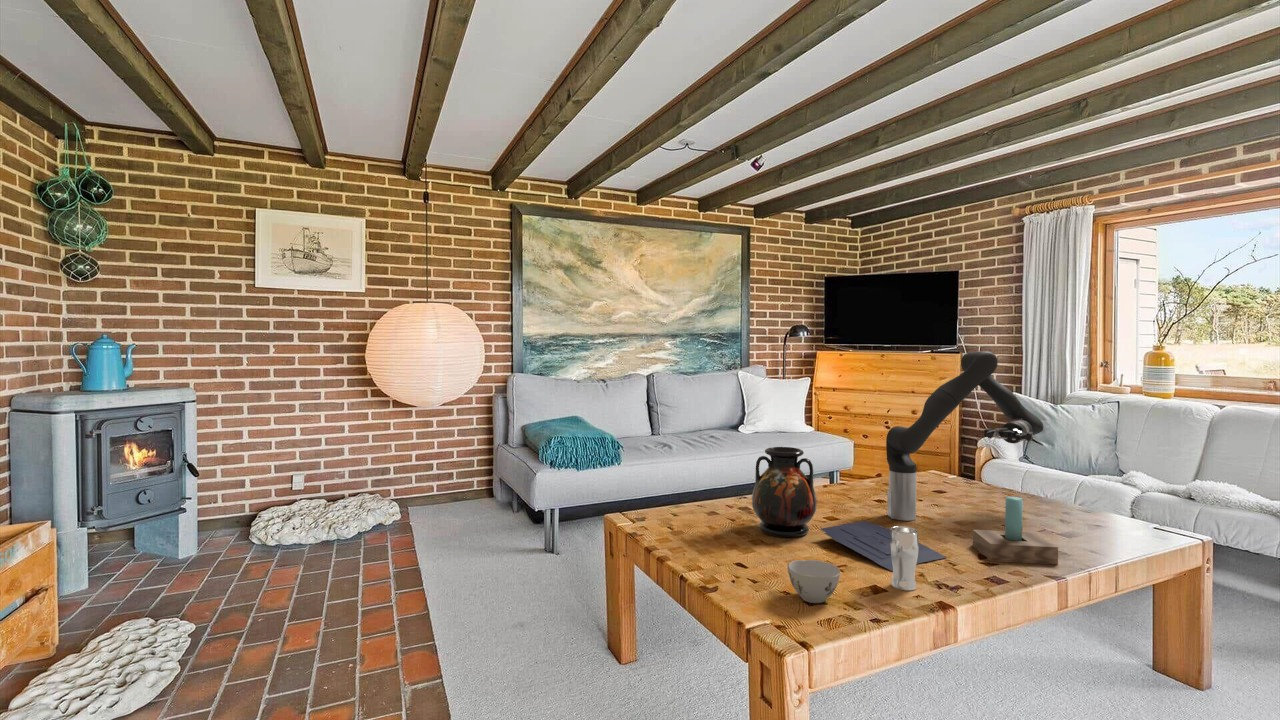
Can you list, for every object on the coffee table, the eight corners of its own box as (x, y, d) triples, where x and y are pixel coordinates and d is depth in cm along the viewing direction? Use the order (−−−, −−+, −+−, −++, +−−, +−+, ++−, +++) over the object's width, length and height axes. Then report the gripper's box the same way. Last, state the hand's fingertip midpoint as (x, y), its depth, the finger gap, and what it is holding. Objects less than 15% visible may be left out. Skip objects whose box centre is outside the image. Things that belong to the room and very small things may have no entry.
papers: (867, 527, 207) (868, 517, 207) (946, 565, 181) (948, 554, 180) (814, 537, 196) (815, 527, 196) (889, 580, 170) (891, 568, 169)
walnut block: (990, 560, 178) (990, 543, 178) (972, 545, 192) (972, 529, 192) (1057, 564, 175) (1058, 547, 175) (1034, 548, 189) (1035, 532, 189)
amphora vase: (747, 538, 199) (748, 453, 199) (755, 520, 220) (755, 443, 219) (816, 544, 193) (816, 456, 192) (817, 525, 214) (817, 446, 213)
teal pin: (1008, 553, 182) (1009, 500, 181) (1002, 548, 186) (1003, 496, 186) (1024, 553, 181) (1025, 500, 181) (1017, 549, 185) (1018, 497, 185)
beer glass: (910, 580, 163) (910, 525, 163) (923, 591, 156) (923, 533, 156) (884, 581, 163) (885, 525, 162) (896, 591, 156) (897, 534, 155)
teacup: (851, 602, 150) (851, 570, 149) (815, 614, 143) (815, 580, 143) (805, 582, 162) (805, 552, 162) (770, 591, 156) (770, 561, 156)
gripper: (993, 419, 224) (979, 423, 212) (1038, 423, 214) (1026, 427, 202) (992, 439, 224) (979, 445, 213) (1038, 444, 214) (1026, 450, 203)
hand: (1002, 436), depth 208 cm, fingers open, 8 cm apart
